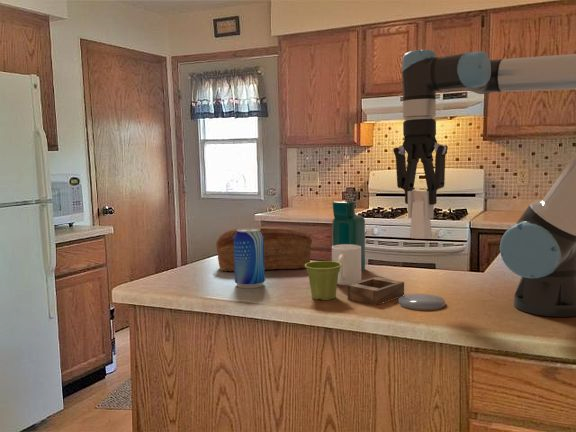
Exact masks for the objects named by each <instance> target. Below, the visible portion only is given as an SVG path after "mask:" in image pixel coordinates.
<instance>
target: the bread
mask: <svg viewBox="0 0 576 432" xmlns="http://www.w3.org/2000/svg"><path fill="white" fill-rule="evenodd" d="M242 228H243V227H241V228H240V229H242ZM251 228H258V229H260V232H261V234H262V235H263V237H264V267H265V270H275V269H280V270H281V269H292V270H293V269H295V270H296V269H303V268H306V267H305V264H306V263H309V262H311V249H312V248H311V247H312V243H313V240H312V237H311V235H310V234H309V233H307V232H306V231H304V230H302V229H300V228H295V227H294V228H293V227H286V226H284V227H283V226H268V225H264V226H261V225H260V226H254V227H251ZM237 229H238V228H236V229H232V230H228V231H226V232H224V233H222V234H220V236H219V238H218V239H217V241H216V242H215V247H216V252H217V260H218V266H219V269H220V270H222V271H225V272H235V264H234V237H235V235H236V233H237Z"/></svg>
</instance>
